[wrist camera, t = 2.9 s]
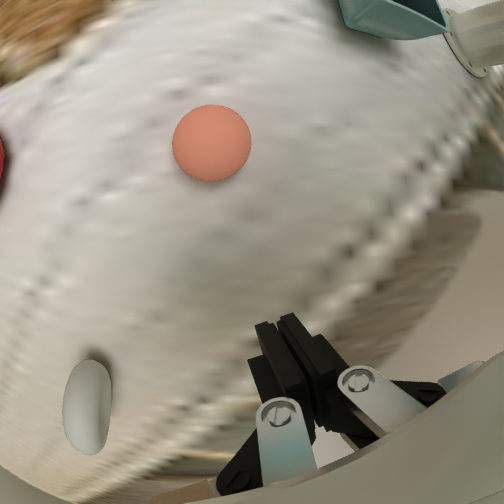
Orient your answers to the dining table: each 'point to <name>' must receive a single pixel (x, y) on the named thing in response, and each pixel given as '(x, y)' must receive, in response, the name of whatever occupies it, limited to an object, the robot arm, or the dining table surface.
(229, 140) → the ball
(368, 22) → the flower pot
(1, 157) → the pomegranate
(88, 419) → the donut
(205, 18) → the dining table surface
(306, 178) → the dining table surface
